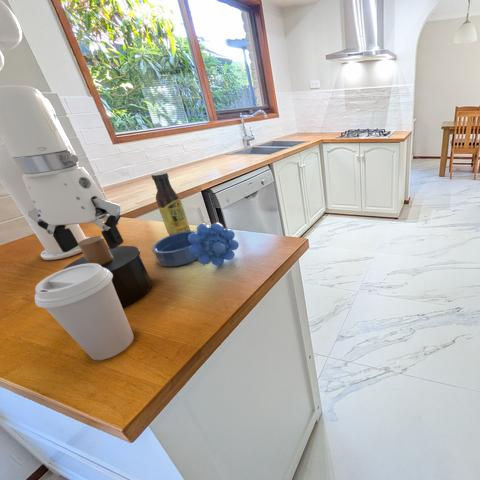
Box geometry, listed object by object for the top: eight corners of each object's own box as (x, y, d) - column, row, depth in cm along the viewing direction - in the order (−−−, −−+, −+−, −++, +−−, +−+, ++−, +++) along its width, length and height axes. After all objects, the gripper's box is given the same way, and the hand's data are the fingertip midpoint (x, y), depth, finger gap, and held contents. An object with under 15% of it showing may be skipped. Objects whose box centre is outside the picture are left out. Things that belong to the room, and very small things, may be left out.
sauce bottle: (182, 240, 89) (158, 177, 80) (165, 239, 90) (139, 177, 81) (196, 231, 95) (175, 170, 86) (180, 230, 96) (157, 171, 87)
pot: (71, 308, 62) (50, 275, 58) (128, 275, 73) (112, 246, 69) (110, 319, 58) (90, 285, 54) (164, 283, 69) (150, 252, 65)
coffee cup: (70, 353, 51) (20, 284, 44) (130, 319, 58) (94, 255, 51) (90, 377, 46) (36, 304, 39) (153, 337, 53) (117, 269, 46)
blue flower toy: (204, 281, 68) (187, 236, 63) (193, 271, 72) (177, 228, 67) (249, 261, 75) (237, 218, 70) (237, 252, 80) (225, 212, 74)
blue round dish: (147, 264, 77) (140, 249, 75) (185, 242, 88) (180, 229, 86) (182, 270, 73) (176, 255, 71) (218, 247, 84) (213, 233, 81)
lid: (47, 279, 58) (29, 253, 56) (114, 247, 70) (102, 223, 67) (90, 289, 54) (73, 261, 51) (155, 253, 65) (144, 229, 62)
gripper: (110, 155, 55) (146, 236, 63) (22, 163, 55) (69, 241, 63) (77, 164, 48) (122, 253, 56) (-22, 172, 49) (36, 259, 56)
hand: (94, 247), depth 60 cm, fingers open, 9 cm apart
